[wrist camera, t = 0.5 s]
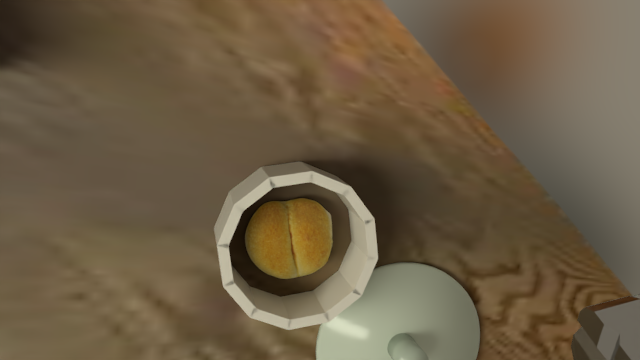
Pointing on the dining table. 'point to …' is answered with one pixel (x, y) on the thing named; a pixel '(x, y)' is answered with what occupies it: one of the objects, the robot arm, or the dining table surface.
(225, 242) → the bowl
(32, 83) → the dining table surface
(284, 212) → the bread roll
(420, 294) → the lid
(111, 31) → the dining table surface
